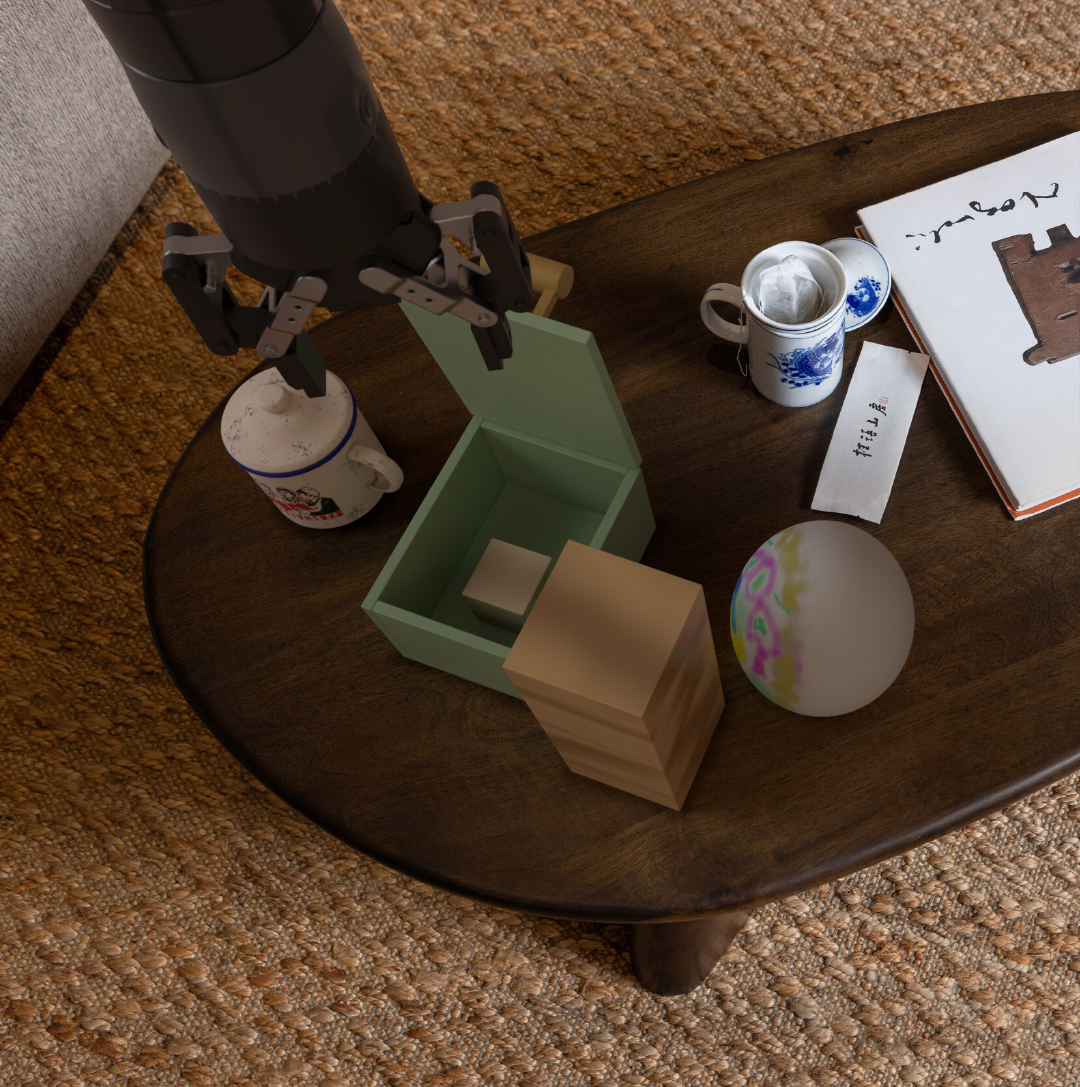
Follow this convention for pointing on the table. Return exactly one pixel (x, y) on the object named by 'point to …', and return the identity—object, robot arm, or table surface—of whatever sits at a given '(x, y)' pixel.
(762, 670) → the decorative egg
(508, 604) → the block
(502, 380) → the lid
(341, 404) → the teacup with lid
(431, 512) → the chest
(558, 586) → the stand
